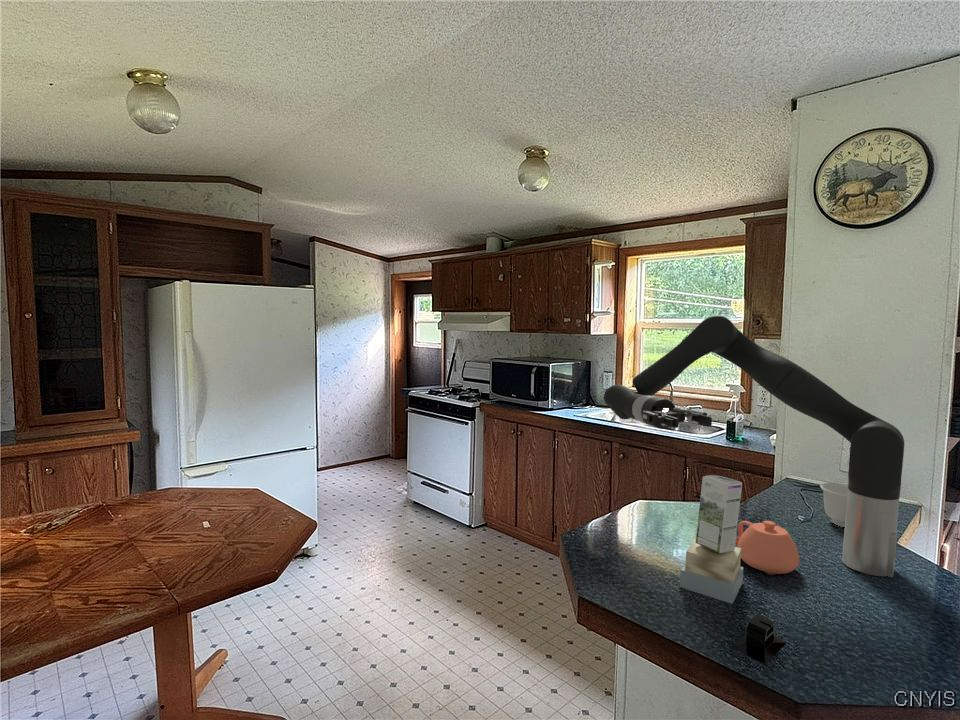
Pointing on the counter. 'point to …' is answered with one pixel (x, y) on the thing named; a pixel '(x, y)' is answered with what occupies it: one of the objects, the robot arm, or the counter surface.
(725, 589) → the tower base
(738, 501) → the syrup box
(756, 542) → the salmon teapot
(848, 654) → the counter surface
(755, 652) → the black slotted chunky part
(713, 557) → the tower top
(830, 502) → the teacup
